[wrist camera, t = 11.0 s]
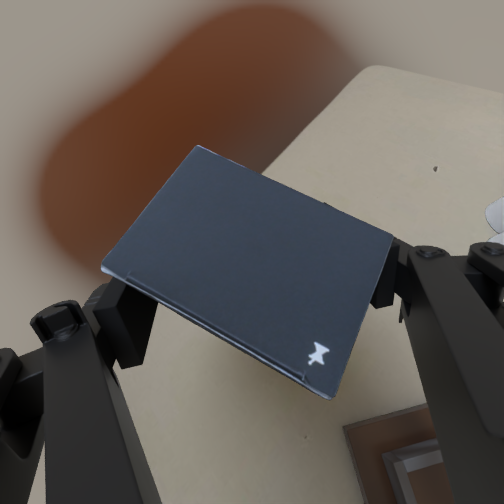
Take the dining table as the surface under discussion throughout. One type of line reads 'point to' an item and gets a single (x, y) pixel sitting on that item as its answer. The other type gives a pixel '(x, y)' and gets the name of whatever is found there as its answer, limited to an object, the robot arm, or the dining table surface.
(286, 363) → the box
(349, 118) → the dining table surface
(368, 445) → the socket board
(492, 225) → the vase
